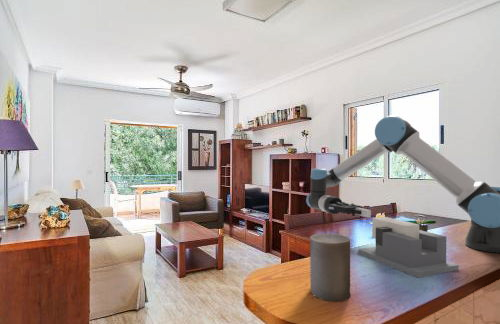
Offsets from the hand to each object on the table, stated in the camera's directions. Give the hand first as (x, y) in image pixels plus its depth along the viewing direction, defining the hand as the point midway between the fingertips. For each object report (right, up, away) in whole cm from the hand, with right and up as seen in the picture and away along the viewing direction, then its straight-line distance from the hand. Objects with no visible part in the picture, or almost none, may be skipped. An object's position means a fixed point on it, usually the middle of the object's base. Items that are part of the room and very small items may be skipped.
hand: (369, 213), depth 115 cm
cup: (+21, -13, +5) cm, 25 cm away
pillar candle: (-25, -13, -39) cm, 48 cm away
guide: (+6, -13, -15) cm, 20 cm away
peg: (+4, -8, -11) cm, 14 cm away
